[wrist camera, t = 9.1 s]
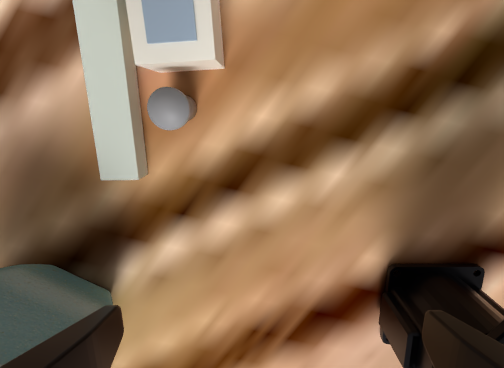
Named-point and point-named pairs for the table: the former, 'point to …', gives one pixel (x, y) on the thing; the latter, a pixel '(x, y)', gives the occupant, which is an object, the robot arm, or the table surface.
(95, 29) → the rail
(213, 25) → the cream rectangular block
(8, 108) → the table surface
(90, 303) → the flower pot
